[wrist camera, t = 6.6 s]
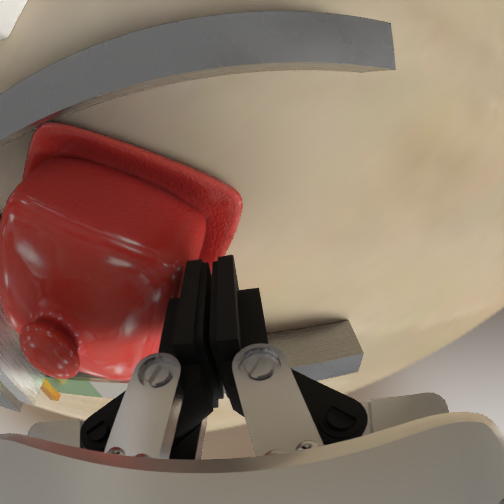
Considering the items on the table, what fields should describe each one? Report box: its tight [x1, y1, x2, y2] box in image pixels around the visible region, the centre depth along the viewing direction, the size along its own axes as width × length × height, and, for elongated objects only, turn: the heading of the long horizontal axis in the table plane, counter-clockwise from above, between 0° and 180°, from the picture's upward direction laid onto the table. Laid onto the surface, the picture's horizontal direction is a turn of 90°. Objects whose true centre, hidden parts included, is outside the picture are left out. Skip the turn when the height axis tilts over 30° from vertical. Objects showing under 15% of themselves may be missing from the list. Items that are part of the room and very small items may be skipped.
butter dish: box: [0, 122, 242, 381], centre depth 10 cm, size 12×12×8 cm
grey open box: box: [0, 11, 396, 412], centre depth 11 cm, size 19×28×6 cm, turn 96°
